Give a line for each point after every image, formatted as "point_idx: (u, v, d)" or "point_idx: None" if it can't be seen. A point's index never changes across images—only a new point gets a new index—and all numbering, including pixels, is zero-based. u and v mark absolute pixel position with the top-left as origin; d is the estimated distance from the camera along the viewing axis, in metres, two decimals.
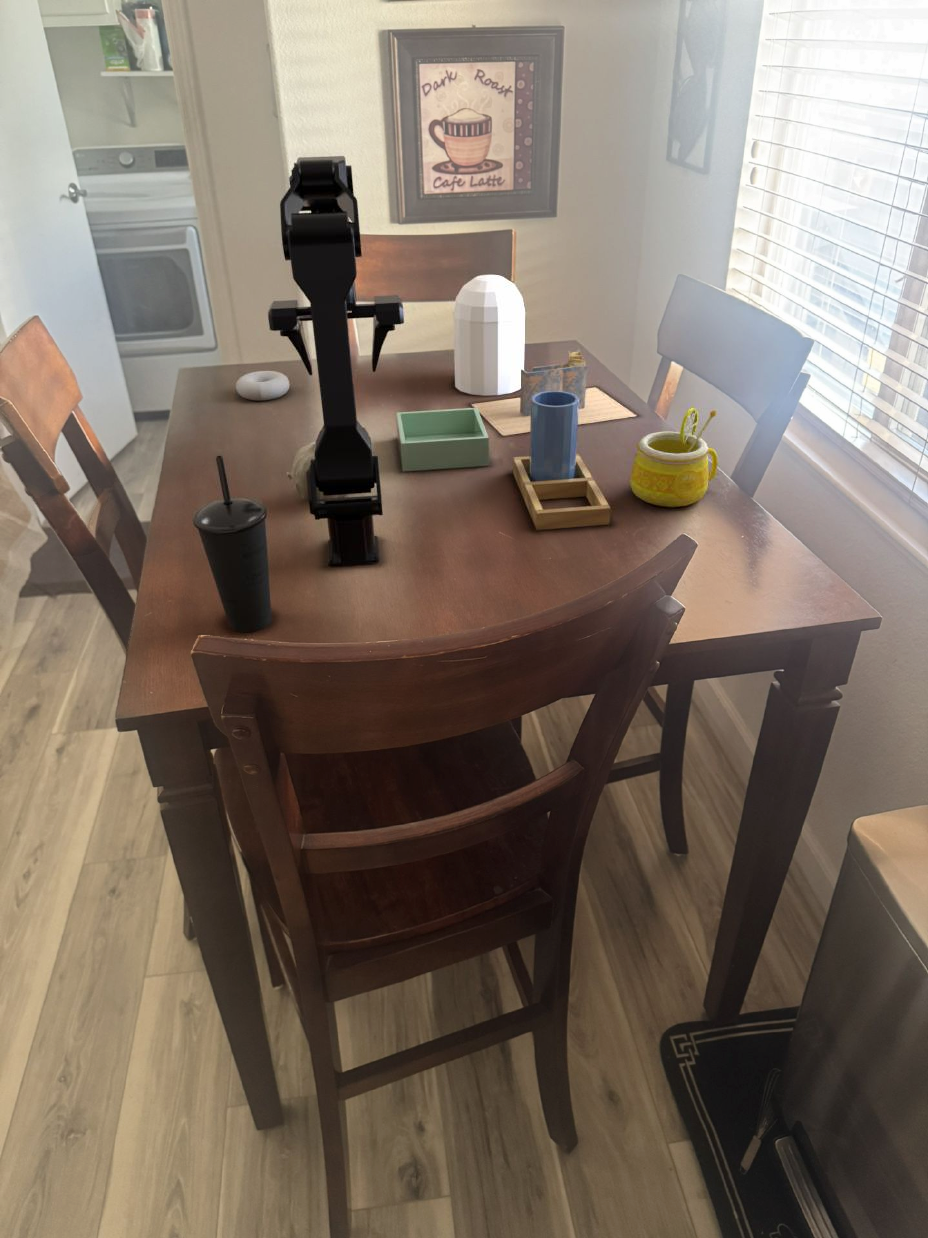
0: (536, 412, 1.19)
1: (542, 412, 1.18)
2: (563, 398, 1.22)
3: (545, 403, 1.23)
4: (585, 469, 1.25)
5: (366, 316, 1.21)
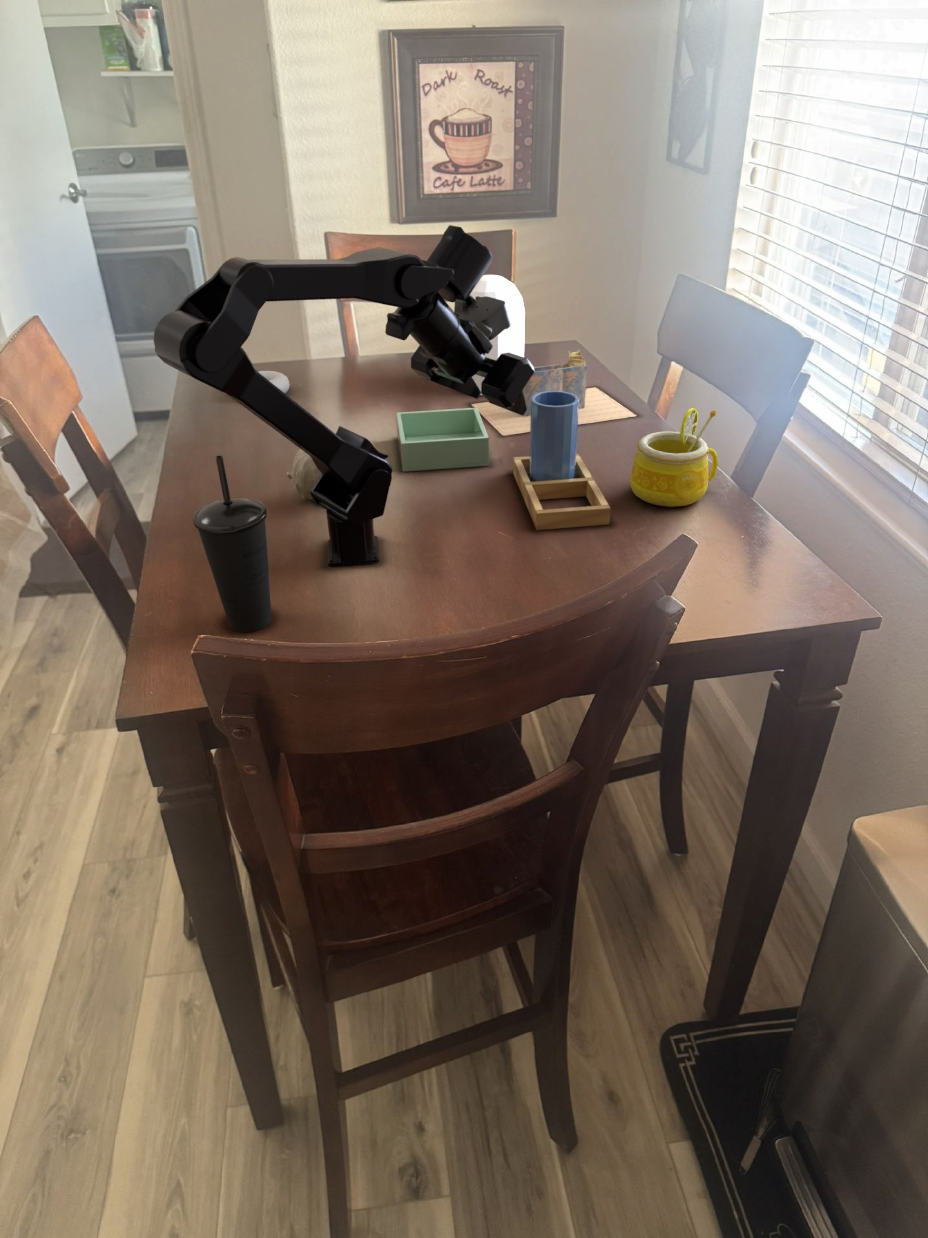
0: (536, 412, 1.19)
1: (542, 412, 1.18)
2: (563, 398, 1.22)
3: (545, 403, 1.23)
4: (585, 469, 1.25)
5: None
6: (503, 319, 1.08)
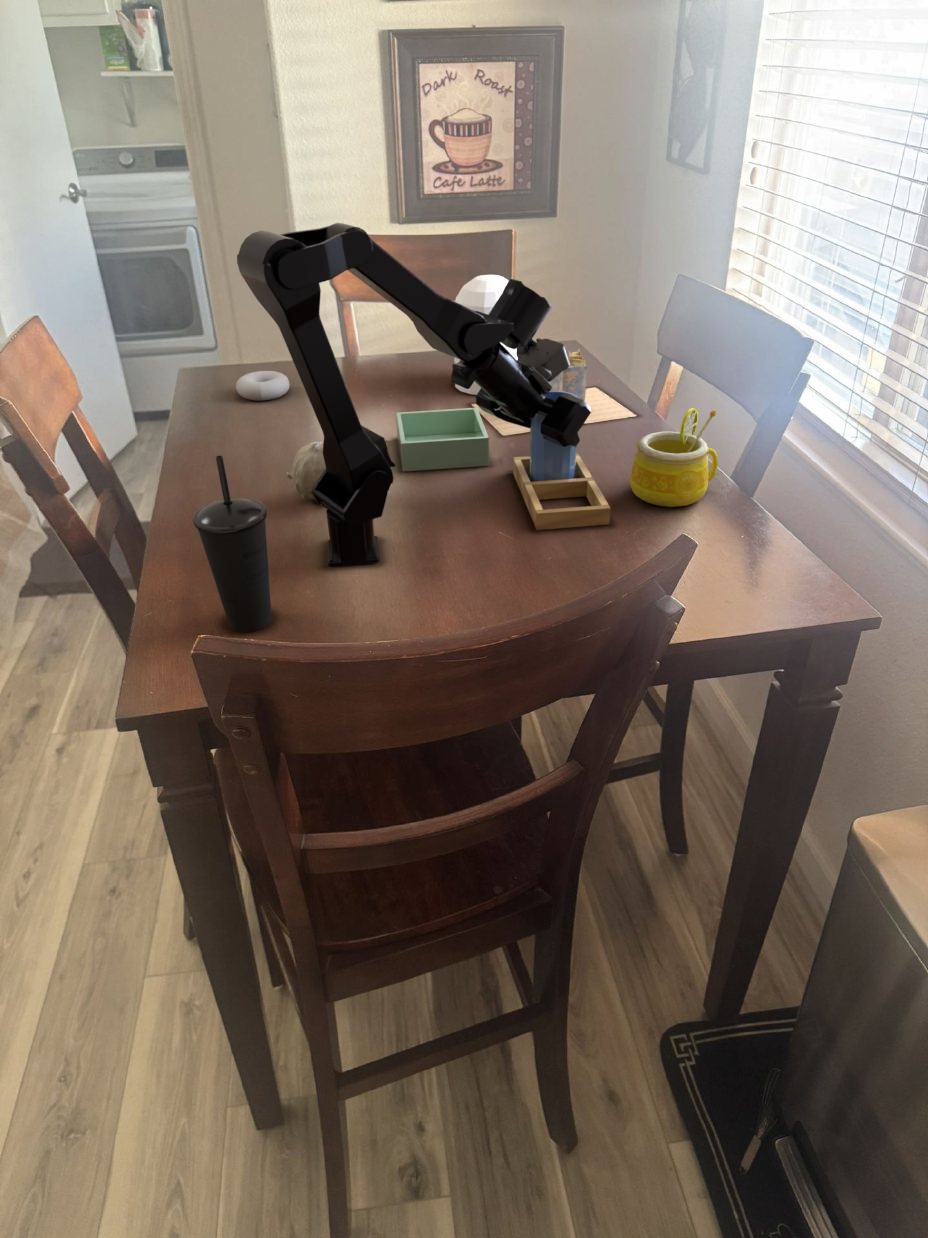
0: None
1: None
2: None
3: None
4: (585, 469, 1.25)
5: None
6: (562, 361, 1.14)
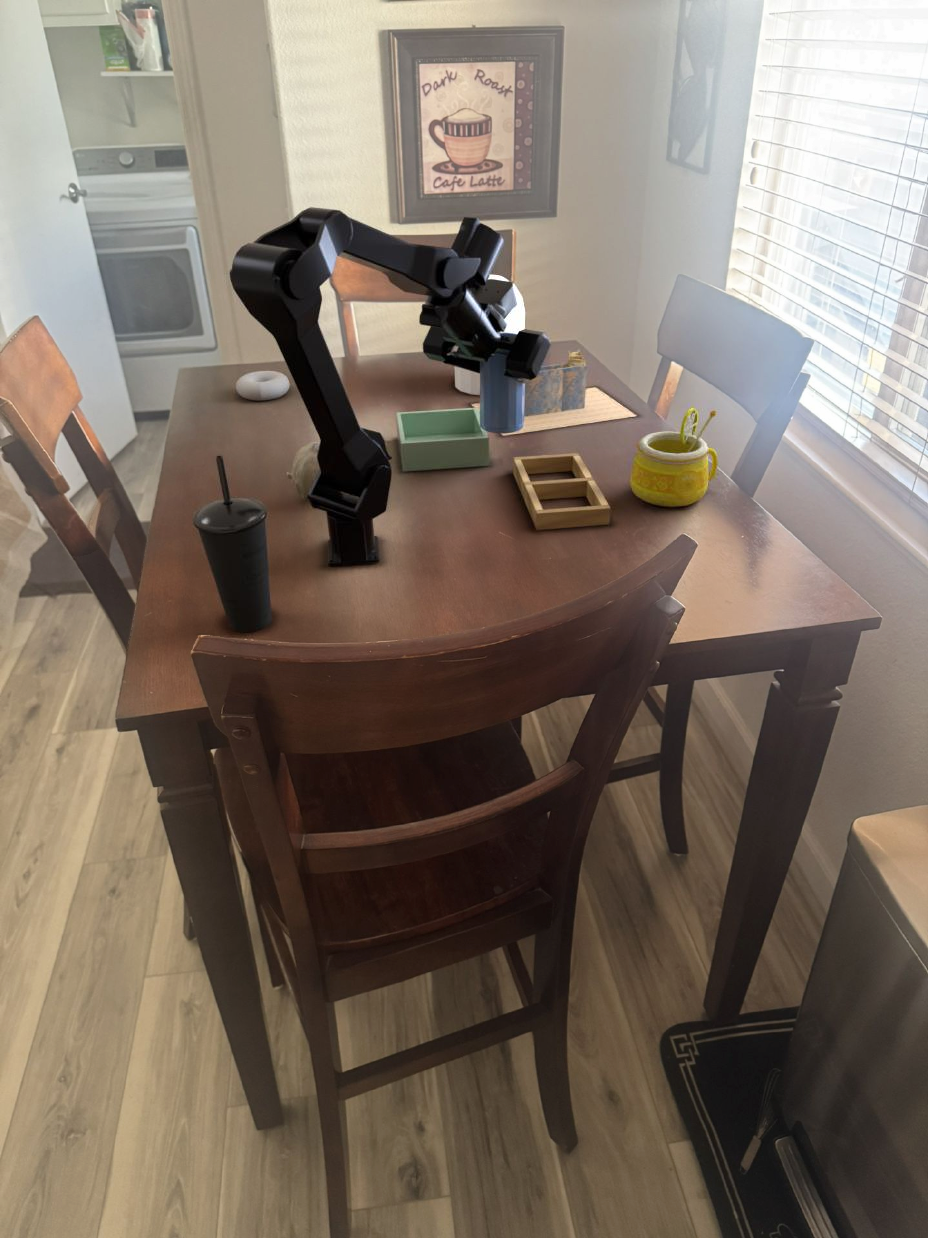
0: None
1: None
2: None
3: None
4: (585, 469, 1.25)
5: None
6: (512, 299, 1.17)
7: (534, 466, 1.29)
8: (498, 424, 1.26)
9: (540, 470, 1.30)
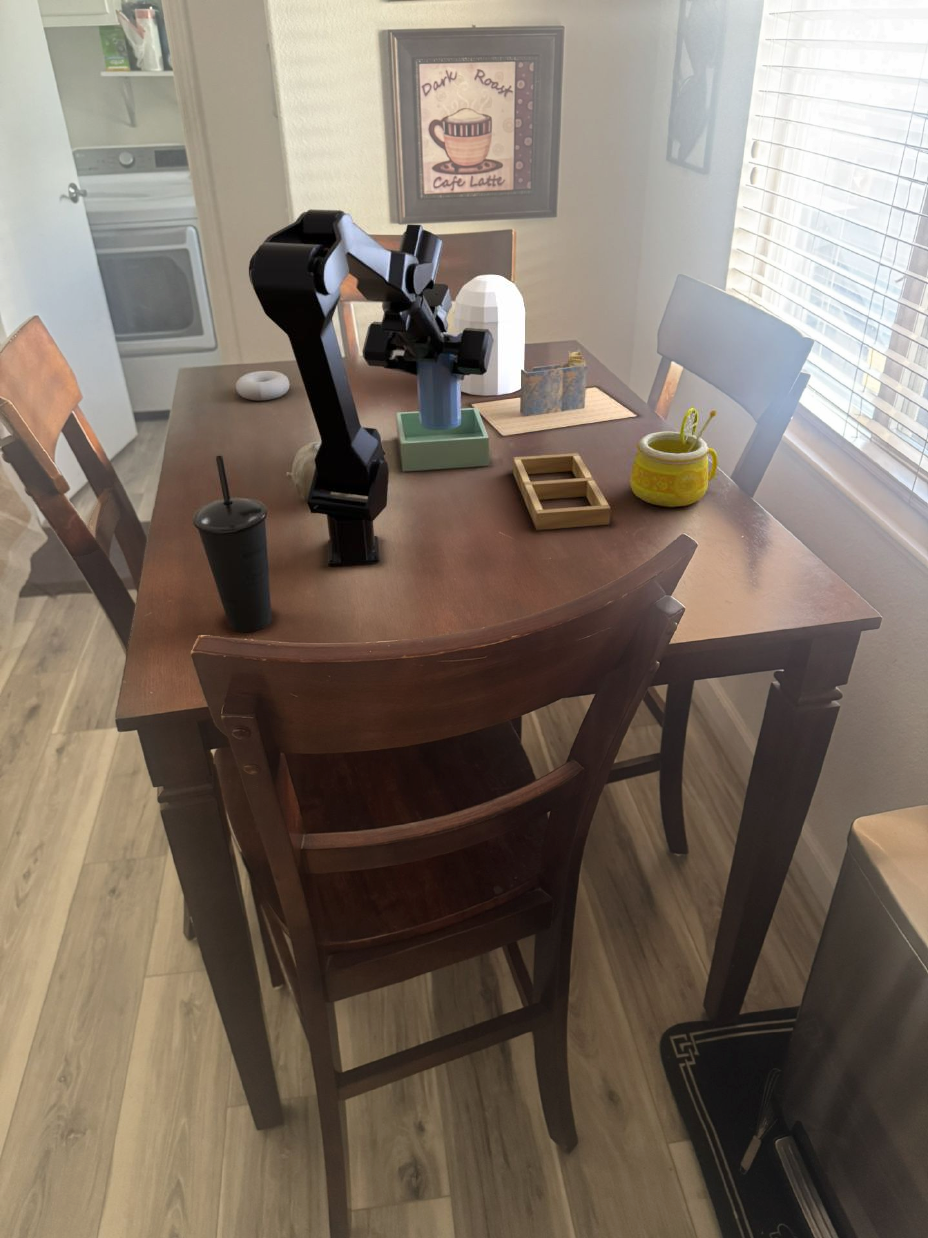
0: None
1: None
2: None
3: None
4: (585, 469, 1.25)
5: (454, 353, 1.23)
6: (449, 300, 1.23)
7: (534, 466, 1.29)
8: (442, 421, 1.31)
9: (540, 470, 1.30)
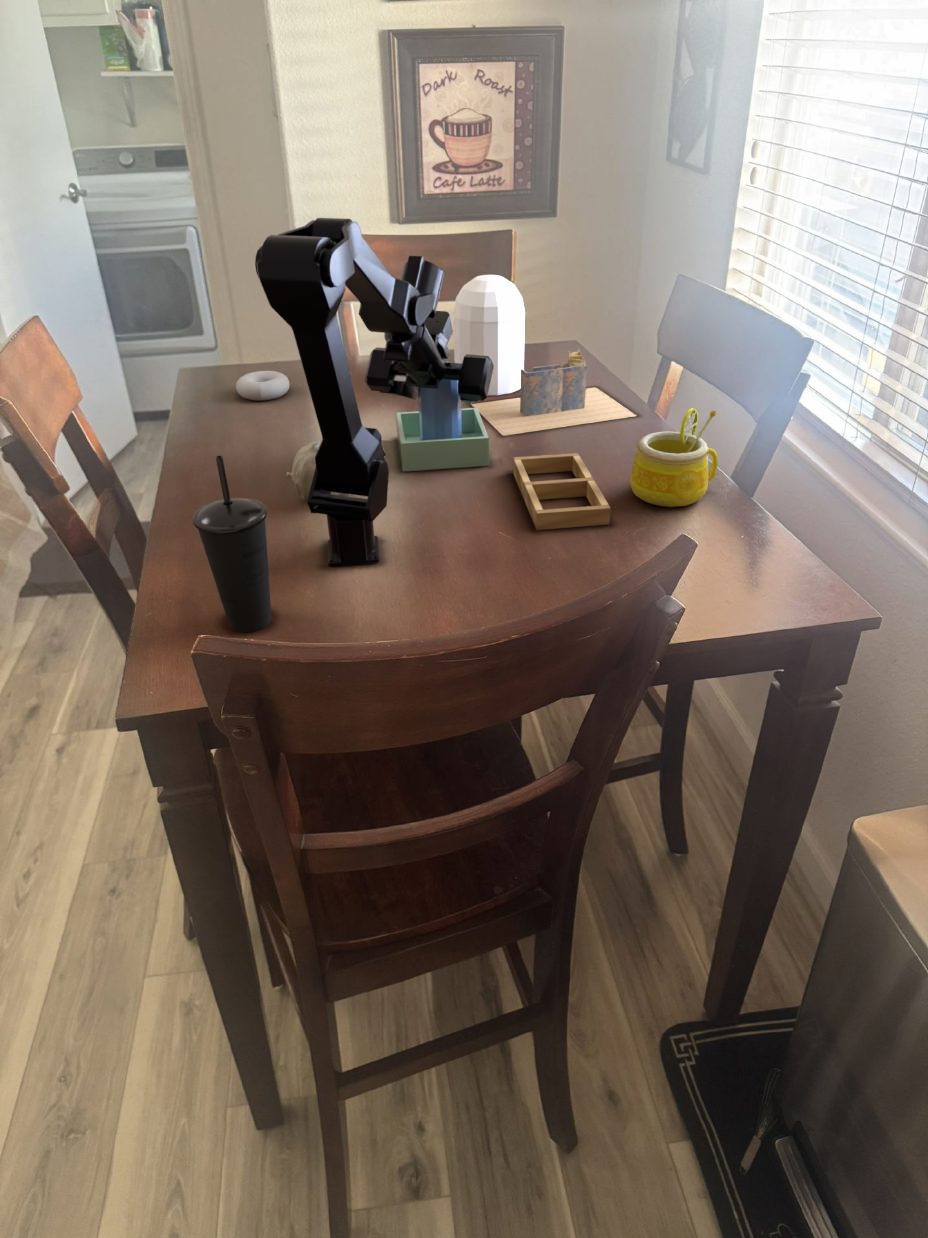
0: None
1: None
2: None
3: None
4: (585, 469, 1.25)
5: (455, 379, 1.26)
6: (450, 327, 1.25)
7: (534, 466, 1.29)
8: None
9: (540, 470, 1.30)
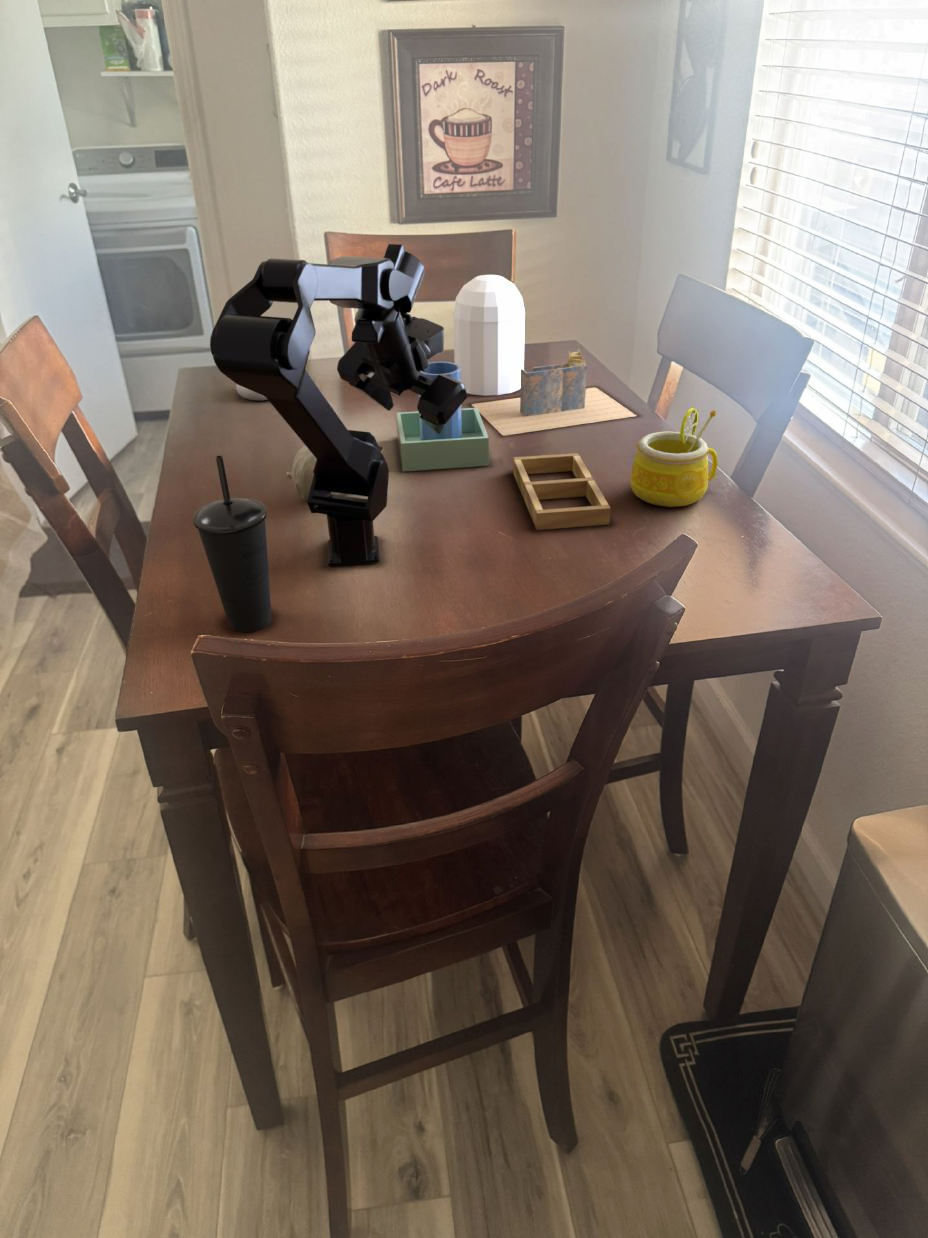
0: None
1: None
2: (437, 367, 1.33)
3: None
4: (585, 469, 1.25)
5: None
6: (439, 343, 1.15)
7: (534, 466, 1.29)
8: None
9: (540, 470, 1.30)
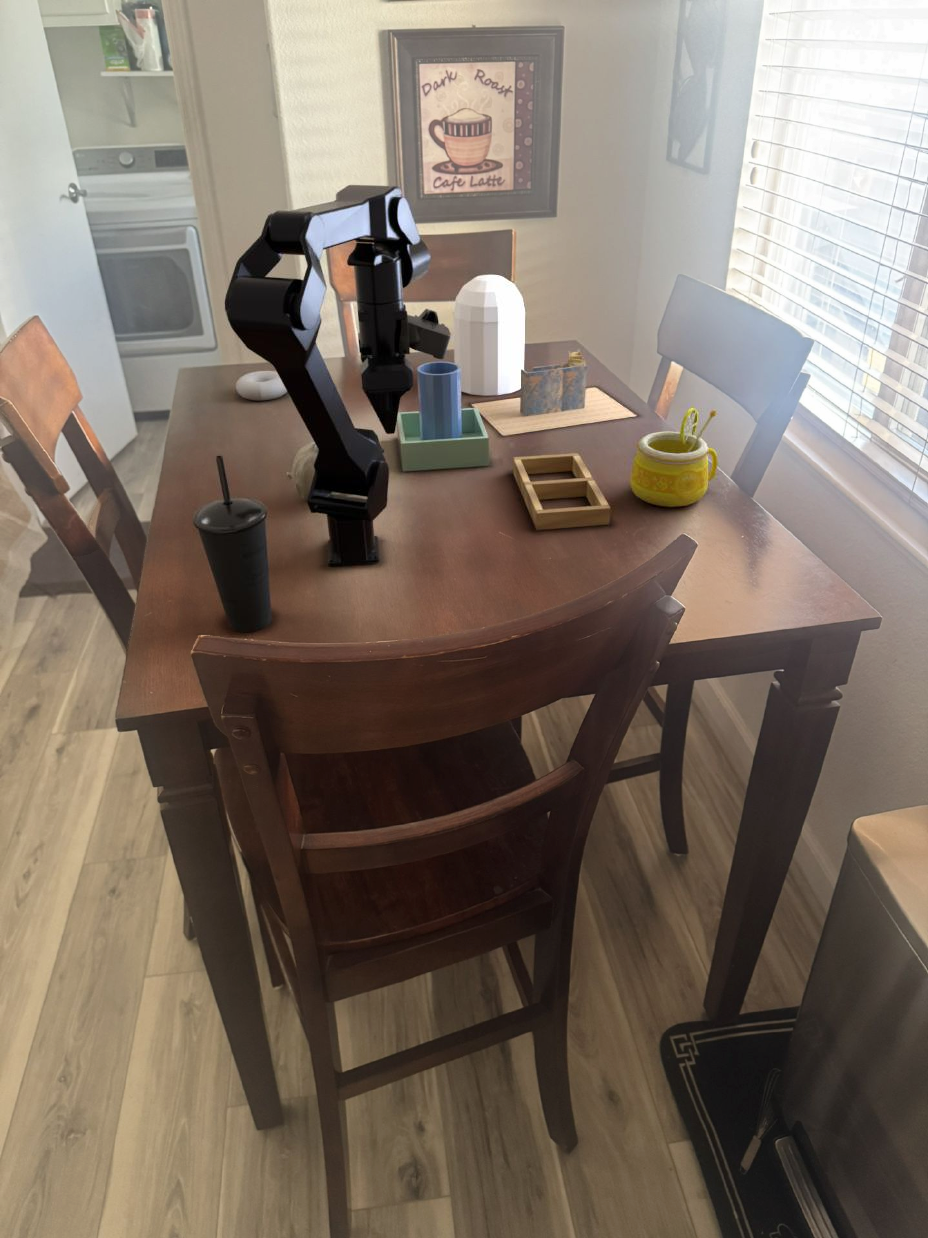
0: (432, 383, 1.28)
1: (438, 381, 1.28)
2: (437, 367, 1.33)
3: None
4: (585, 469, 1.25)
5: None
6: (436, 345, 1.07)
7: (534, 466, 1.29)
8: None
9: (540, 470, 1.30)
